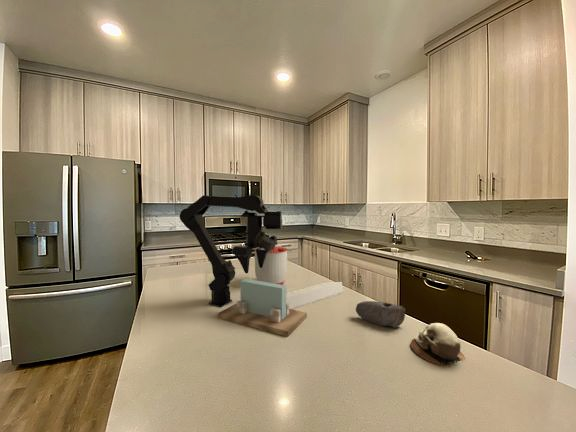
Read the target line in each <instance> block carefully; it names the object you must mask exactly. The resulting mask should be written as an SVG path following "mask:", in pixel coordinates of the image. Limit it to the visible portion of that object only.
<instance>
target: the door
mask: <svg viewBox="0 0 576 432" xmlns="http://www.w3.org/2000/svg"><path fill="white" fill-rule="evenodd" d="M286 293H287V285H284V284H283V285H280V284H274V283H268V282H262V281H257V279H250V278H245V279H242V280H240V301H243V302H246V311H247V312H251V313H255V314H259V315H263V316H268V317H270V309H272V308H274V309H279V310H281V320H282V319H283V318H285V317H286Z"/></svg>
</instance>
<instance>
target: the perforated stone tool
mask: <svg viewBox="0 0 576 432" xmlns="http://www.w3.org/2000/svg"><path fill="white" fill-rule="evenodd" d="M355 312H356V314H357V316H359V317H360V318H361V319H363V320H365V321H368V322H371V323H373V324H376V325H379V326H382V327H383V326H384V327H392V328H393V329H394V328H397V327H399V326H401V325H402V324H403V323H404V321H405V317H406V308H404V306H402V305H398V304H393V303H388V302H384V301H383V302H382V301H377V300H375V301H373V300H372V301H371V300H370V301H369V300H367V301H361V302H359V303H357V304H356V307H355Z"/></svg>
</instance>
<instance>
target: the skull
mask: <svg viewBox="0 0 576 432" xmlns="http://www.w3.org/2000/svg"><path fill="white" fill-rule="evenodd" d="M410 346H411V348H412V350H413V351H414V353H415V354H416V355H418V356H420V358H422V359H424V360H425V361H428V362H429V363H432V364H434V365H438V366H441V367H444V368H445V367H446V368H449V366H451V363H455V362H456V363H458V362H461V361H462V362H464V361H466V356H465V355H464V353H462V351H461V347H462V346H461V341H460V339H459V337H458V336H457V334H456V333H455V332H454V331H453V330H452V329H451V328H450V327H449V326H448V325H446V324H444V323H442V322H441V323H440V322H434V323H432V322H431V323H429V325H427V326H425V328H423V330H420V331H419V332H418V334H417V335H416V336H415V338H413V339H412V340H411V341H410Z"/></svg>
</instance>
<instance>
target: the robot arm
mask: <svg viewBox="0 0 576 432" xmlns="http://www.w3.org/2000/svg"><path fill="white" fill-rule="evenodd" d="M211 207H227V208H228V207H230V208H238V209H239V208H240V209H243V210H245V211H244V212H243V213H241V215H240V216H241V217H242V218H245V217H246V231H244V233H243V234H244V235H245V236H246V242H243V243H244V244H239V245H236V246H235V245H234V246H233V247H232V250H231V251H232V252H231V253H232V255H234V257H236V258H237V260H238V261H239V263H240V265H241V268H242V270H243V272H244V273H245V274H249V270H250V269H249V268H250V259H252V257H254V256H253V254H252V253H253V251H255V250H256V253H257V258H258V263H259V267H260V268H262V267H263V264H264V261H265V258H266V255H267V253H269V252H270V251H271V250H274V247H276V246H278V237H277V236H275V235H271V236H267V235H266V232H265V231H263V227H264V228H265V230H282V229H283V216H282V211H281V210H278V211H269V210H268V208H266V206H265V205H264V199H263V198H262V197H261V196H259V195H255V194H250V195H242V196H236V197H235V196H233V197H232V196H214V195H213V196H212V195H208V194H207V195H205V194H204V195H202V196H201V197H199V198H198V199H197V200H196V201H194V202H193V203H191V204H190V205H189V206H188V207H186V208H183V209H182V210H181V211H180V213H179V221H180V222H182V224H183V225H184V226H185V227H186V228H187V229H188V230H189V231H190V232H192V233H193V235H194V236H195V238H196V240H197V242H198V243H199V245H200V247H201V249H202V250H203V252H204V254H205V256H206V257H207V259H208V261H209V263H210V264H211V269H212V275H213V277H214V279H213V280H212V281H211V282H209V284H208V288H209V290H210V292H211V300H210V301H208V305H213V306H216V307H220V308H221V307H224V306H225V305H228V304H230V303H232V302H233V299H231V290H230V286H229V285H230V283H231V281H233V280H234V279H235V277H236V271H235V270H236V267H235V266H234V265H233V263H232V260H231V259H228V260H225V258H224V257H223V256H222V254H221V253H220V250H219V249H218V247H217V246H216V244H215V243H214V240H213V239H212V237H211V235H210V233H209V231H208V230H207V229H206V227H205V226H206V225H205V219H204V215H205V214H206V213H207V211H208V210H209V208H211ZM249 211H251V212H249Z"/></svg>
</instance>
